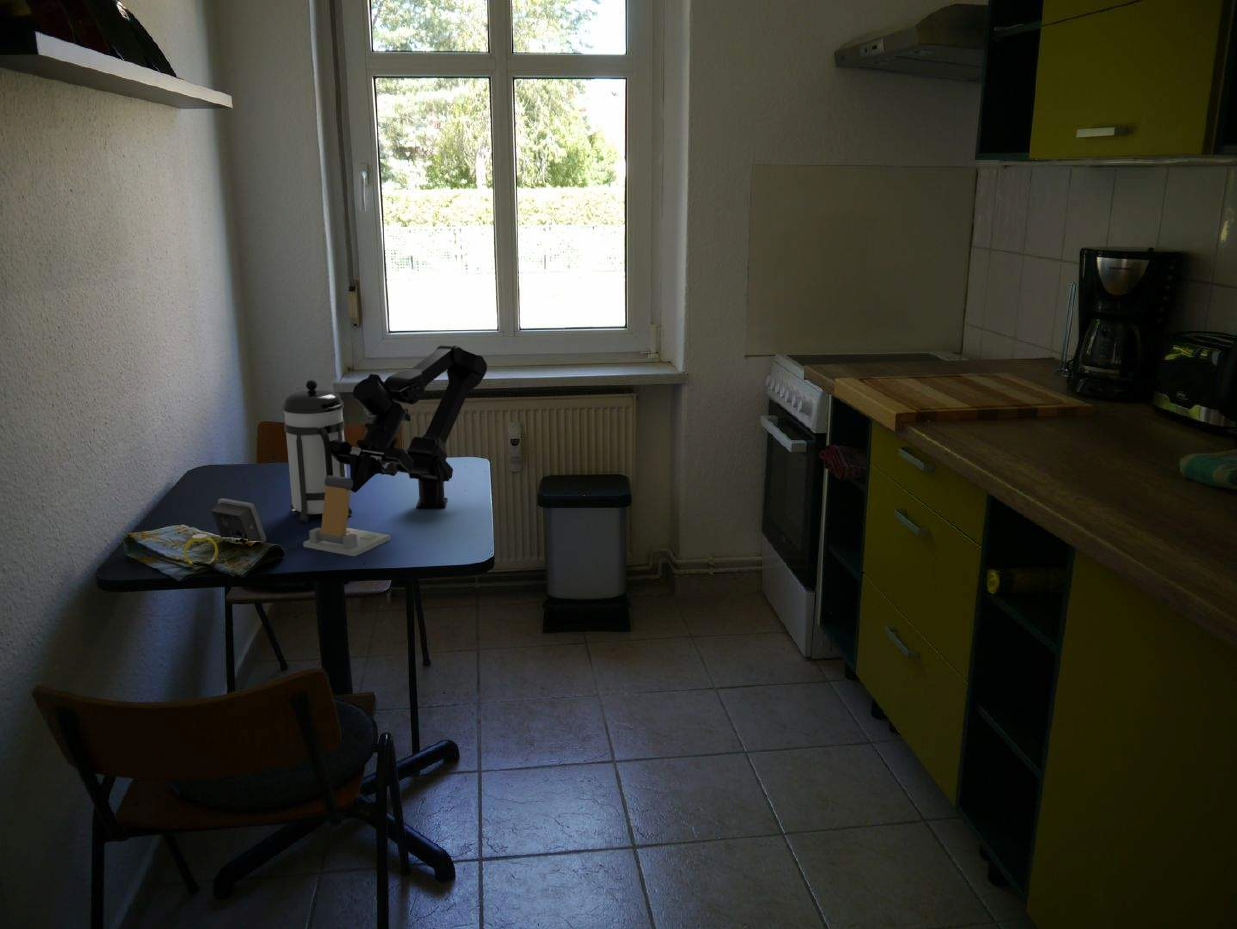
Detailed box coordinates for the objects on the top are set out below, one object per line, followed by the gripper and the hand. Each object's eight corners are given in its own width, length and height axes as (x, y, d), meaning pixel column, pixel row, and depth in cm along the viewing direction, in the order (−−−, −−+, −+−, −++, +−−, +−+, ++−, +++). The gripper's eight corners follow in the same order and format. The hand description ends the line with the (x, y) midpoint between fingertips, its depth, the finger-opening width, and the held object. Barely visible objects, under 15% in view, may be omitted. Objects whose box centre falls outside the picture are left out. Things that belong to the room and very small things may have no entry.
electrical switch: (267, 542, 211) (260, 500, 207) (249, 552, 206) (241, 509, 203) (233, 536, 214) (225, 494, 211) (214, 546, 210) (206, 503, 207)
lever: (324, 540, 208) (331, 475, 208) (348, 544, 206) (355, 478, 205) (316, 540, 206) (323, 475, 206) (340, 544, 204) (347, 478, 203)
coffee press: (268, 520, 224) (256, 384, 216) (314, 500, 238) (304, 372, 231) (334, 530, 218) (324, 390, 210) (378, 508, 232) (370, 377, 224)
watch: (216, 561, 201) (216, 532, 199) (219, 565, 198) (218, 536, 197) (183, 564, 198) (182, 535, 196) (185, 569, 195) (184, 539, 194)
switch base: (340, 530, 218) (338, 515, 217) (389, 539, 212) (388, 523, 211) (303, 546, 208) (302, 530, 207) (354, 556, 203) (353, 539, 202)
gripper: (437, 452, 219) (408, 516, 212) (367, 443, 227) (337, 504, 220) (413, 423, 210) (382, 489, 203) (341, 415, 218) (309, 478, 211)
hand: (353, 491), depth 210 cm, fingers closed
